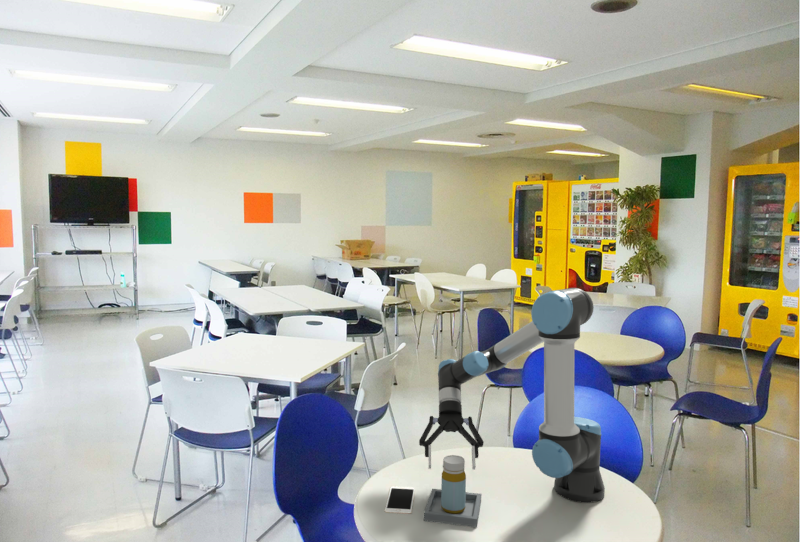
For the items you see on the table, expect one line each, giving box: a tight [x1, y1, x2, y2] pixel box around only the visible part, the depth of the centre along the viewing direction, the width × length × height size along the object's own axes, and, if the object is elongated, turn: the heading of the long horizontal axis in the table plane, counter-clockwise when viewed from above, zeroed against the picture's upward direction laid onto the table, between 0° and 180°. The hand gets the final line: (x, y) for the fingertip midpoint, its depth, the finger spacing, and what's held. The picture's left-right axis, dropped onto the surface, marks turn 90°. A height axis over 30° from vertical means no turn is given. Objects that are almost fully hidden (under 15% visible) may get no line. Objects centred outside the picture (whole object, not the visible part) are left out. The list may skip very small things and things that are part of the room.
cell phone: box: [384, 485, 416, 515], centre depth 177 cm, size 8×16×1 cm, turn 174°
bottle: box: [440, 454, 467, 514], centre depth 170 cm, size 7×7×15 cm
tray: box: [423, 488, 482, 528], centre depth 170 cm, size 15×15×2 cm
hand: (451, 467), depth 179 cm, fingers open, 13 cm apart
